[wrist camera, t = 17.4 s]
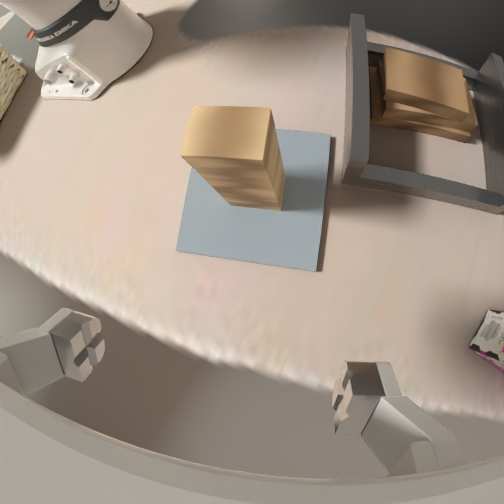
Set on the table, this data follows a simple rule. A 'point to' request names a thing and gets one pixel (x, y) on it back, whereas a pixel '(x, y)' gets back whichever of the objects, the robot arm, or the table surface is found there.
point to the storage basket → (9, 79)
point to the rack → (379, 177)
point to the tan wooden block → (237, 154)
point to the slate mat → (264, 212)
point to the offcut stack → (420, 96)
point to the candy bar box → (490, 339)
